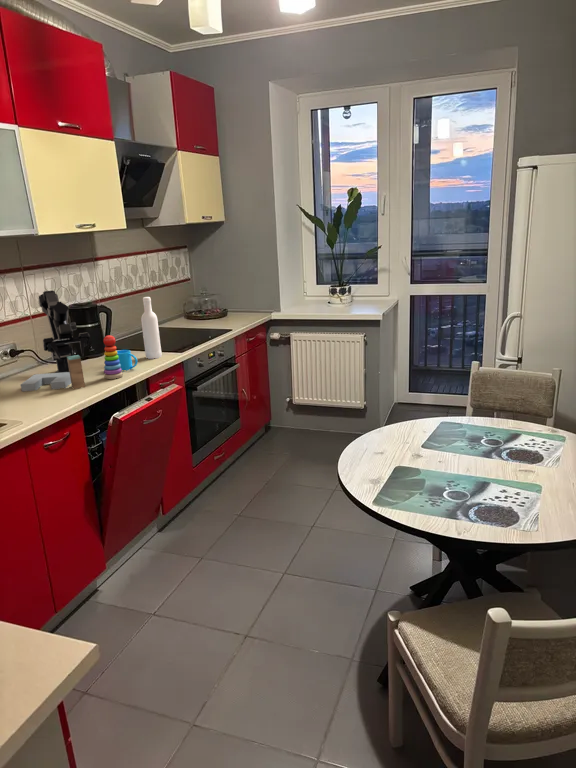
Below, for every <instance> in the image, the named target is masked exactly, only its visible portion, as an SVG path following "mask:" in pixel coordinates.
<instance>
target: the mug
mask: <svg viewBox="0 0 576 768" xmlns="http://www.w3.org/2000/svg"><path fill="white" fill-rule="evenodd" d="M116 351H117V355H118V356H119V358H118V359H119V361H120V364H121V367H120V368H121V369H122V370H126V371H130V370H132V369H133V368H135V367H137V365H138V358H137V356H135V354H132V351H131V350H130V349H118V350H116ZM132 357H133V359H134V362H135V363H134V365H133V359H132ZM129 369H130V370H129Z"/></svg>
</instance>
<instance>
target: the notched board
mask: <svg viewBox="0 0 576 768" xmlns="http://www.w3.org/2000/svg"><path fill="white" fill-rule="evenodd" d="M19 385H20V389H21V392H32V391H34V390H35V391H37V390H38V389H40V388H41V387H42V386H43V385H50V387H51V390H60V388H64V389H67V388H68V387H69V386H70V385H72V384H71V378H70V373H69V372H61V373H55V372H51V373H49V372H48V373H37V374H33V375H31V376H30V377H29V378H27V379H26V380H25V381H23V382H22V383H20V384H19ZM68 385H69V386H68ZM40 386H41V387H40ZM67 386H68V387H67ZM66 387H67V388H66Z"/></svg>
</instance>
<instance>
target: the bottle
mask: <svg viewBox="0 0 576 768" xmlns="http://www.w3.org/2000/svg"><path fill="white" fill-rule="evenodd" d="M142 302H143V303H142V304H143V309H144V310H143V311H144V312H143V313H142V315H141V319H140V320H141V330H142V337H143V344H144V345H143V346H144V353H145V354H144V355H145V358H146V359H147V358H148V359H149V360H151V359H152V360H154V358H155V359H159V357H160V358H161V357H162V356H163V355H162V353H163V352H162V347H161V338H160V330H159V322H158V320H159V319H158V316H157V314H156V313H155V312H154V311H153V309H152V299H151V297H150V296H144V297H142Z"/></svg>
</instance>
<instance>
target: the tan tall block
mask: <svg viewBox="0 0 576 768" xmlns="http://www.w3.org/2000/svg"><path fill="white" fill-rule="evenodd" d="M81 358H82V356H80V355H79V354H77V355H75V354H74V355H73V356H69V357H67V361H68V367H69V373H70V378H71V384H70V385H71V388H72V389H73V388H74V389H73V390H77V389H81V387H83V388H86V385H85V377H84V371H83V365H82V360H81ZM76 388H77V389H76Z"/></svg>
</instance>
